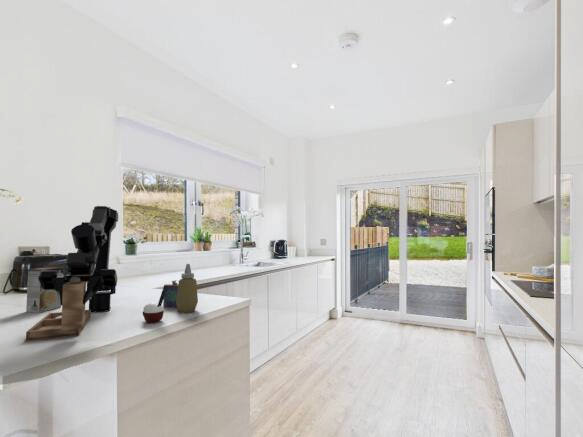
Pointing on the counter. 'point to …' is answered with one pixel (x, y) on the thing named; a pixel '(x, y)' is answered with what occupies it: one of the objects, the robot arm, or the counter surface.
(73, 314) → the pepper mill
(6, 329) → the counter surface
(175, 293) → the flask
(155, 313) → the rice bowl with chopsticks
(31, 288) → the coffee box
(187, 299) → the squeeze bottle
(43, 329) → the tray
